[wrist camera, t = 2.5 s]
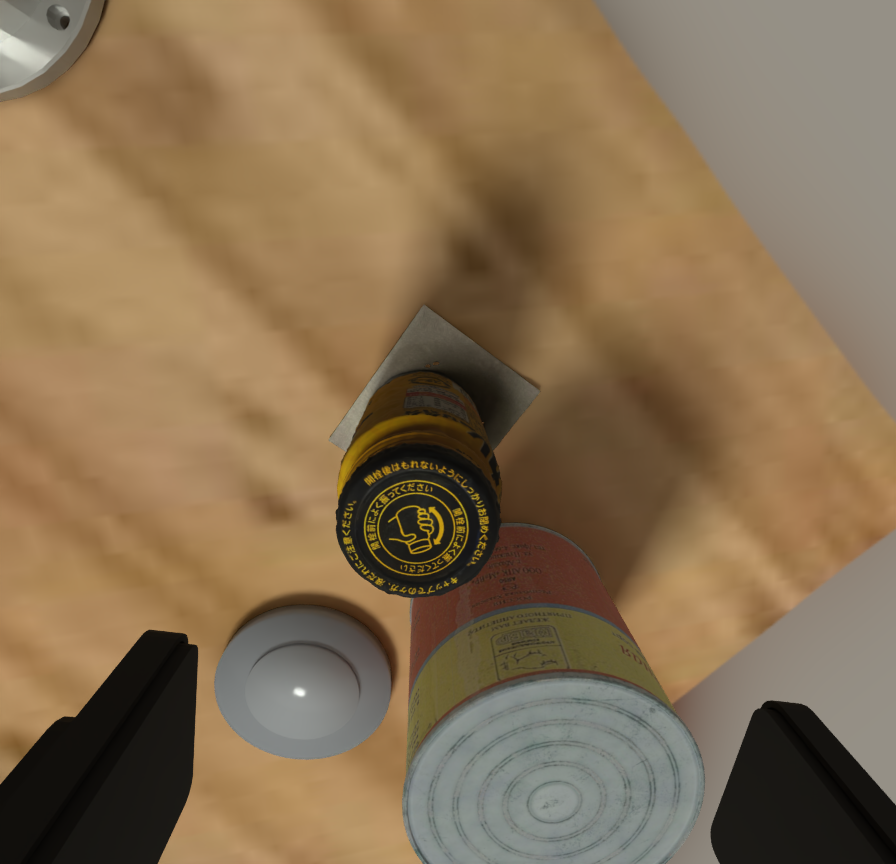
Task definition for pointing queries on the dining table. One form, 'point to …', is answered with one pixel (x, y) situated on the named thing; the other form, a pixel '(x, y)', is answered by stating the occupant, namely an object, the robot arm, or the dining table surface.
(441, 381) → the condiment
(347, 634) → the saucer
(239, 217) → the dining table surface
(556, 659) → the canned food
